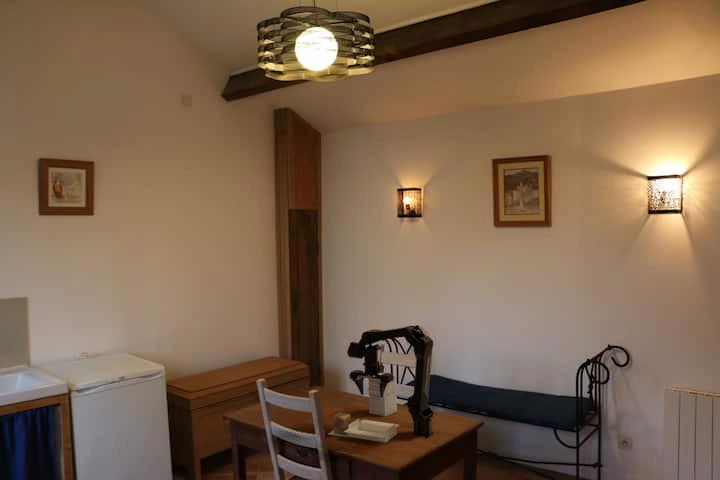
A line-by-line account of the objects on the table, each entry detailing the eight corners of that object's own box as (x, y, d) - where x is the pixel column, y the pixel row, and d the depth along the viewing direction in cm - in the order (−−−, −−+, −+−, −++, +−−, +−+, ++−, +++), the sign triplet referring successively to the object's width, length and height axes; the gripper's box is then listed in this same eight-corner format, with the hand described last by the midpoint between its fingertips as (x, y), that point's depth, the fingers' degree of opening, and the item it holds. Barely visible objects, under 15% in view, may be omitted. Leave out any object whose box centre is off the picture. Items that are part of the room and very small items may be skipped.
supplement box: (381, 408, 281) (380, 372, 281) (397, 411, 276) (396, 374, 275) (368, 413, 274) (367, 376, 274) (385, 416, 268) (383, 379, 268)
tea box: (350, 430, 249) (350, 414, 249) (344, 434, 245) (344, 417, 244) (340, 429, 252) (339, 412, 251) (333, 433, 247) (333, 416, 247)
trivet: (357, 431, 250) (357, 430, 250) (346, 438, 242) (346, 437, 242) (338, 428, 254) (338, 427, 254) (327, 435, 246) (327, 433, 246)
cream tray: (399, 433, 246) (399, 421, 246) (382, 446, 232) (381, 433, 232) (362, 427, 255) (362, 415, 254) (343, 440, 240) (343, 427, 240)
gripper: (398, 357, 259) (399, 393, 259) (360, 354, 268) (361, 389, 268) (387, 363, 249) (388, 400, 250) (348, 359, 258) (349, 395, 259)
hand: (372, 396), depth 257 cm, fingers open, 9 cm apart
